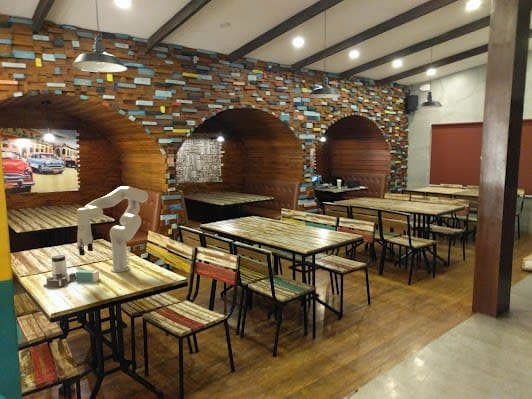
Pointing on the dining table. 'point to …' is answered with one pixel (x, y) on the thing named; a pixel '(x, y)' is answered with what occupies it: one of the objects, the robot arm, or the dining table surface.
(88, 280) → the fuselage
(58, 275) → the cradle
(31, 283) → the dining table surface
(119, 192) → the robot arm
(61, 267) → the jar
